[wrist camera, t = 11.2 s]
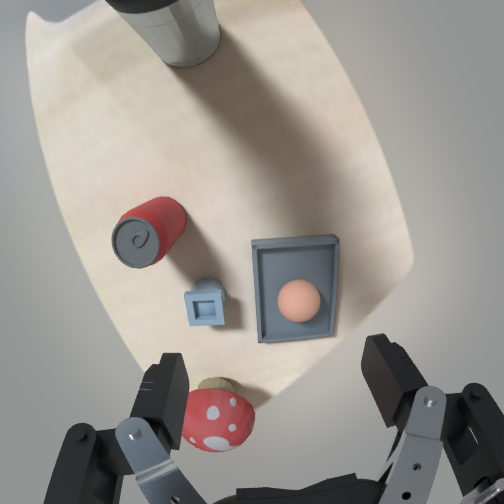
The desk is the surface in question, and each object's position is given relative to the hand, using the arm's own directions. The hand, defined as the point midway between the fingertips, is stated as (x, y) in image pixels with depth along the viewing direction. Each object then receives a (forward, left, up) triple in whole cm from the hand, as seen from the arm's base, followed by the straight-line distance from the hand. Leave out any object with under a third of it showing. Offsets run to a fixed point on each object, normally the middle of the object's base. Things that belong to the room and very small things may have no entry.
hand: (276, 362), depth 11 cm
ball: (+11, +5, -28) cm, 31 cm away
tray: (+11, +5, -29) cm, 32 cm away
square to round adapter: (+11, -8, -29) cm, 32 cm away
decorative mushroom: (+30, -9, -29) cm, 43 cm away
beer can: (-1, -13, -29) cm, 32 cm away
